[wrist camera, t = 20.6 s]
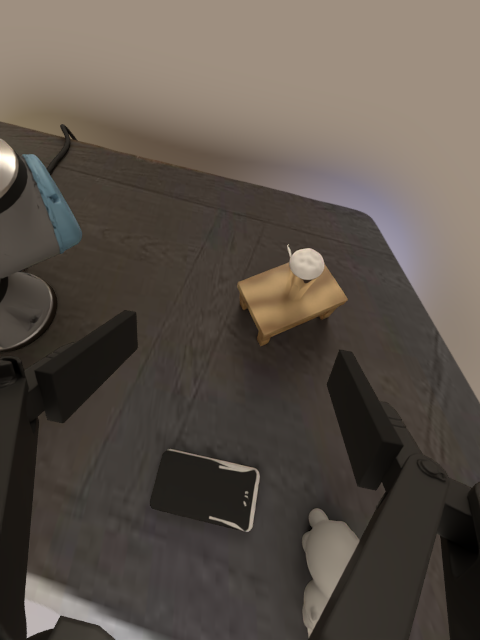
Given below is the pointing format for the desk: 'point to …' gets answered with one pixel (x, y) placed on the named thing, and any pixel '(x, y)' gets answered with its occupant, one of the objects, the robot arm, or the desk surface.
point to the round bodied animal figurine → (324, 562)
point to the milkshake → (302, 272)
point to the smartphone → (206, 489)
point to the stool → (287, 301)
